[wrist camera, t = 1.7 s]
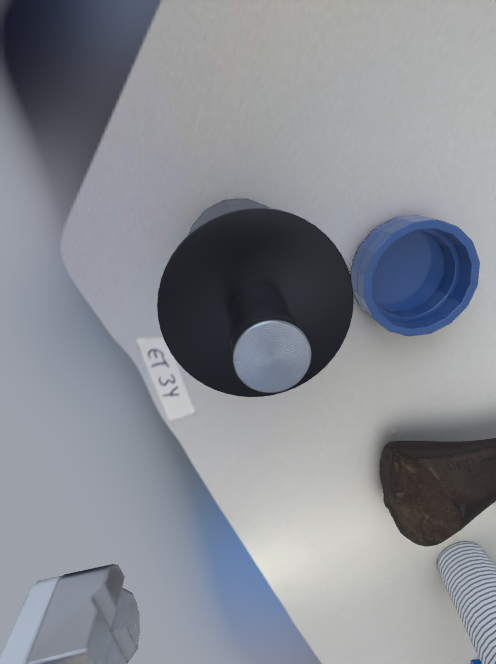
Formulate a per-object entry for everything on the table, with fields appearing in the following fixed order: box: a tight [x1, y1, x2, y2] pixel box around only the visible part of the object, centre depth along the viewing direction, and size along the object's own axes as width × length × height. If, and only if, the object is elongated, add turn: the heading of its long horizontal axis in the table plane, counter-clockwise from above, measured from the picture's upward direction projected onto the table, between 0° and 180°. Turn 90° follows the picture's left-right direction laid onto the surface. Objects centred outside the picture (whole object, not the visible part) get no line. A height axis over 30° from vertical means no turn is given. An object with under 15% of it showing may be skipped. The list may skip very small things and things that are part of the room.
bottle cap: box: [351, 215, 480, 336], centre depth 37 cm, size 10×10×4 cm
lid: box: [157, 208, 353, 397], centre depth 19 cm, size 10×10×7 cm
